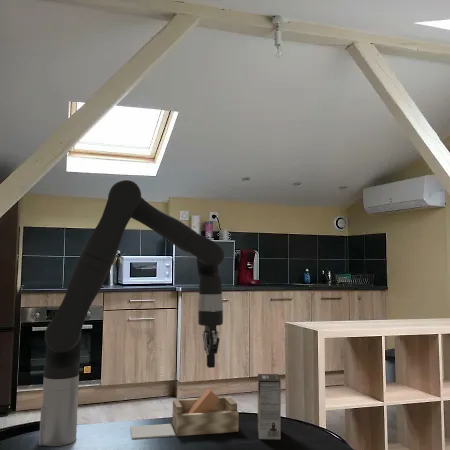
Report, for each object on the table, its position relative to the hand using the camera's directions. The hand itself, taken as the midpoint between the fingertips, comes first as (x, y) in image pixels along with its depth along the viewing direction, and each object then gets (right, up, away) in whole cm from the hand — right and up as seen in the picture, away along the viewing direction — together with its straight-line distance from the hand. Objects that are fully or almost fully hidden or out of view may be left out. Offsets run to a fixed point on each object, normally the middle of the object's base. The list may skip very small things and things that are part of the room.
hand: (210, 367), depth 141 cm
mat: (-17, -17, -6) cm, 25 cm away
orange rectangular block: (-2, -13, -2) cm, 13 cm away
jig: (-2, -18, -2) cm, 18 cm away
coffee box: (+17, -17, -7) cm, 25 cm away
